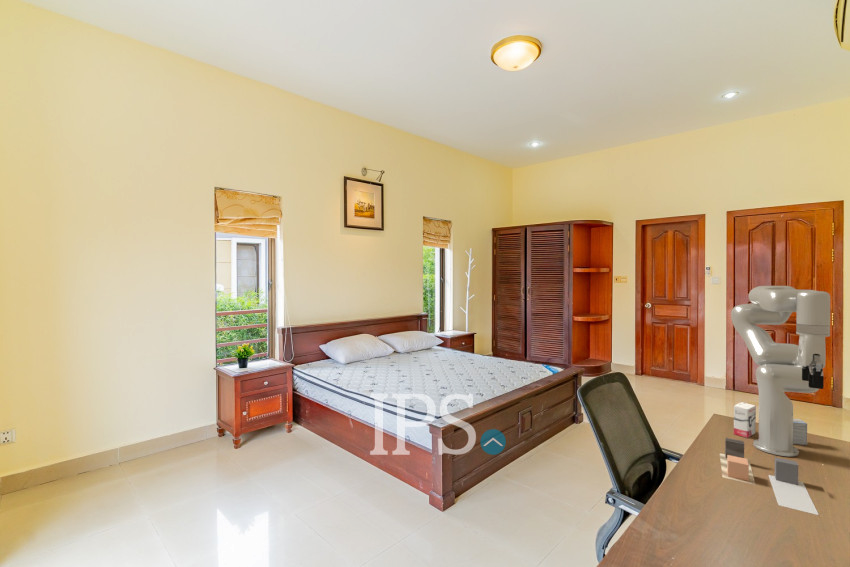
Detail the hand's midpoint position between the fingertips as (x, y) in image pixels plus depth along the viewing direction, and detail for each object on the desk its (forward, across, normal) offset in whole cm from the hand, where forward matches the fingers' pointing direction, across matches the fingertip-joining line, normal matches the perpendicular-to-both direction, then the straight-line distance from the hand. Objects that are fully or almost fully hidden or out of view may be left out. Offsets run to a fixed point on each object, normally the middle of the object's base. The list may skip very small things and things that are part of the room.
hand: (812, 384), depth 123 cm
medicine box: (+31, -34, 0) cm, 46 cm away
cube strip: (+30, +7, -19) cm, 36 cm away
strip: (+30, +17, -7) cm, 35 cm away
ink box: (+31, -34, -14) cm, 48 cm away
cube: (+29, +13, -19) cm, 37 cm away
